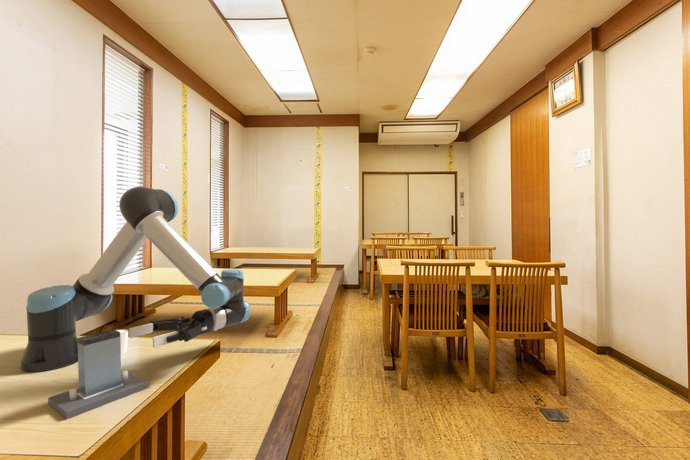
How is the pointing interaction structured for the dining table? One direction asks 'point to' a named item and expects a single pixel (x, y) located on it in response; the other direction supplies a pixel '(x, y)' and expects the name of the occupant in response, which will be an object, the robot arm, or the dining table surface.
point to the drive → (99, 362)
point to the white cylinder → (123, 340)
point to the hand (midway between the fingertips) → (140, 337)
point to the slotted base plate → (95, 396)
